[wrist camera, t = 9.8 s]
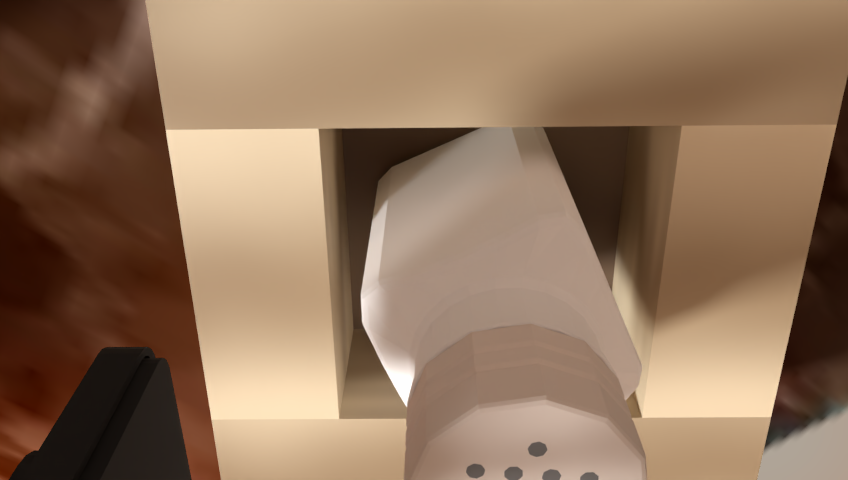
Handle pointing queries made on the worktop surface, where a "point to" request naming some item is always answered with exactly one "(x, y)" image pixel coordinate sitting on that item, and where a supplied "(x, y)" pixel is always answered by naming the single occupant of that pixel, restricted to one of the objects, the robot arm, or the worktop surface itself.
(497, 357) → the pepper shaker
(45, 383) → the worktop surface
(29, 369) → the worktop surface
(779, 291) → the socket block
